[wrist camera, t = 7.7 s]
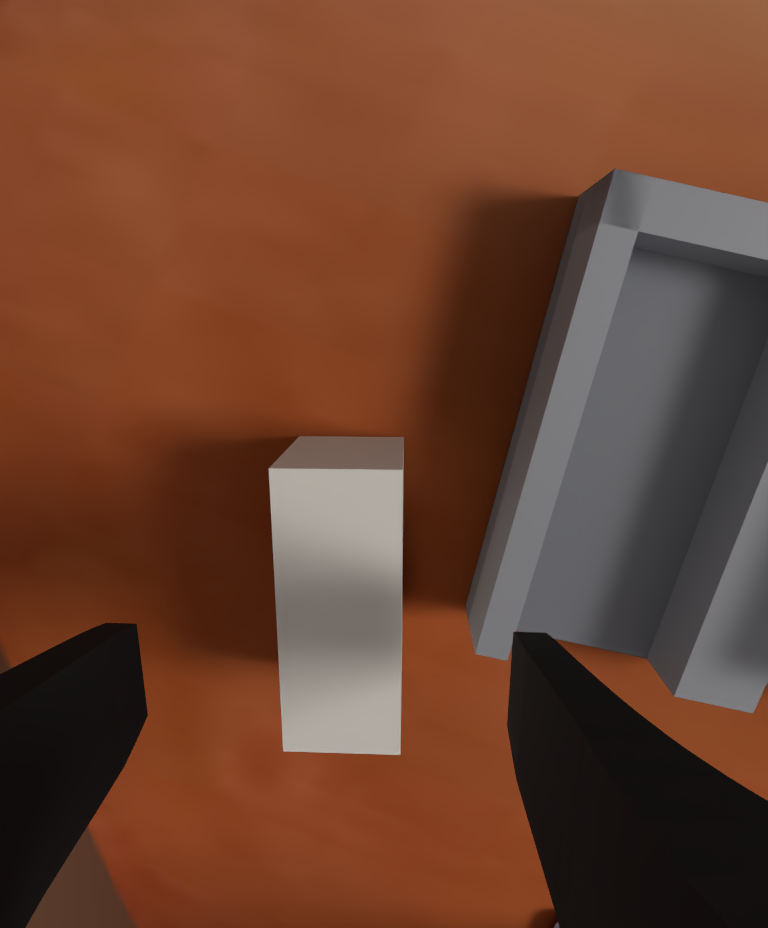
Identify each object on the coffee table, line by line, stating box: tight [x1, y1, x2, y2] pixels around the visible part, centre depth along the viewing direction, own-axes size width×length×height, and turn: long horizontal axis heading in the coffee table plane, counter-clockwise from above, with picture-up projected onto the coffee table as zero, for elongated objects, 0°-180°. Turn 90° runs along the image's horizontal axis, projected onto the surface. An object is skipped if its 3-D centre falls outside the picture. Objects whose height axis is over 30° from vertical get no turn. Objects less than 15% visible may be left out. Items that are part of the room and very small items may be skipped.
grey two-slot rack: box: [465, 169, 768, 713], centre depth 13 cm, size 11×12×2 cm
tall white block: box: [269, 436, 404, 755], centre depth 14 cm, size 7×3×4 cm, turn 0°
